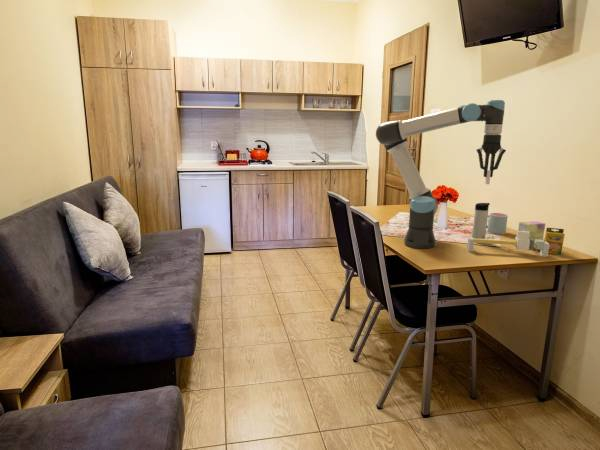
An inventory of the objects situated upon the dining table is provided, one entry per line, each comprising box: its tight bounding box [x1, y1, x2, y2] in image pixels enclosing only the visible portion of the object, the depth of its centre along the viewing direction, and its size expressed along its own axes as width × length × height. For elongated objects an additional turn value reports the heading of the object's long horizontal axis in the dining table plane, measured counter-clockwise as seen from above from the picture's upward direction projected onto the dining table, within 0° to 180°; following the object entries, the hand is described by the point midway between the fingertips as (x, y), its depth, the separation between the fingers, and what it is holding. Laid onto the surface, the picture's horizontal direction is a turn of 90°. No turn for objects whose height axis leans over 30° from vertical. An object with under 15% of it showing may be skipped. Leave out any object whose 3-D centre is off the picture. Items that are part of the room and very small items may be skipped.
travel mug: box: [471, 202, 491, 239], centre depth 210 cm, size 6×7×20 cm
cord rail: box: [466, 236, 549, 258], centre depth 193 cm, size 34×4×7 cm, turn 77°
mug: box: [486, 212, 509, 235], centre depth 230 cm, size 14×9×10 cm
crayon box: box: [543, 227, 566, 255], centre depth 192 cm, size 7×3×12 cm, turn 70°
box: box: [517, 220, 546, 242], centre depth 203 cm, size 10×6×12 cm, turn 102°
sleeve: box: [513, 230, 530, 251], centre depth 190 cm, size 5×5×8 cm
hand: (487, 183), depth 200 cm, fingers closed
